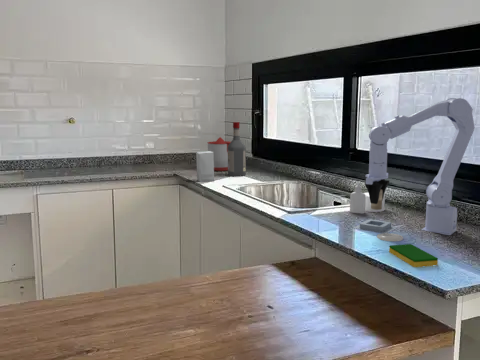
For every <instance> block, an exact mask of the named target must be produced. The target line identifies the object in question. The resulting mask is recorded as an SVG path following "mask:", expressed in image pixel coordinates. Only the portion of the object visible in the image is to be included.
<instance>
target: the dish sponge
mask: <svg viewBox="0 0 480 360" xmlns="http://www.w3.org/2000/svg"><path fill="white" fill-rule="evenodd" d="M388 247H389V248H388V252H389V254H391V255H393V256H395V257H396V258H398V259H400V260H402V261H403V262H405V263H406V264H408V265H409V266H411V267H413V268H423V266H425V267H433V265H436V266H438V262H439V261H438V259H439V258H438V257H437V256H434V255H433V254H430V253H429V252H427V251H425V250H424V249H421V248H419V247H418V246H415V245H413V244H411V243H407V244H406V243H404V244H393V245H388Z"/></svg>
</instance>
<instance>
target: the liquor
mask: <svg viewBox="0 0 480 360" xmlns="http://www.w3.org/2000/svg"><path fill="white" fill-rule="evenodd" d="M232 129H233V131H232V133H233V137H232V140H231V141H230V142H231V143H230V144H229V145H228V170H227V175H228V176H230V177H233V178H235V177H237V178H239V177H245V176H246V175H247V174H246V173H247V171H246V169H247V166H246V164H247V163H246V162H247V161H246V160H247V159H246V152H247V151H246V145H245V144H244V143H243V141H242V140H241V139H240V121H233V122H232Z"/></svg>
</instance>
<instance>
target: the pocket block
mask: <svg viewBox="0 0 480 360" xmlns="http://www.w3.org/2000/svg"><path fill="white" fill-rule="evenodd" d="M353 229H357V230H361V231H362V230H363V231H370V232H375V233H379V234H382V233H390V232H392V231H394V230H396V229H398V226H396V225H395V226H393V225H392V222H391V221H385V220H378V219H372V218H371V219H367V220H365V221H363V222H360V223H359V224H358V225H356V226H353Z"/></svg>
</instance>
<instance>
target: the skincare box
mask: <svg viewBox="0 0 480 360" xmlns="http://www.w3.org/2000/svg"><path fill="white" fill-rule="evenodd" d="M195 154H196V155H195V156H196V158H195V159H196V179H197V181H198V182H199V183H204V182H214V181H215V171H214V160H213V152H211V151H208V150H206V151H196V152H195Z"/></svg>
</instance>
